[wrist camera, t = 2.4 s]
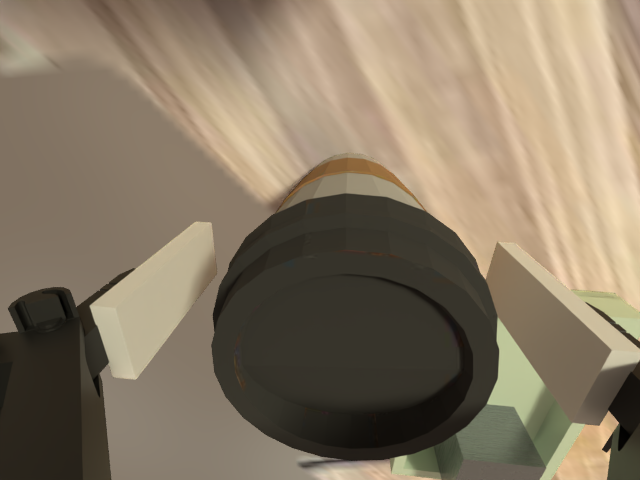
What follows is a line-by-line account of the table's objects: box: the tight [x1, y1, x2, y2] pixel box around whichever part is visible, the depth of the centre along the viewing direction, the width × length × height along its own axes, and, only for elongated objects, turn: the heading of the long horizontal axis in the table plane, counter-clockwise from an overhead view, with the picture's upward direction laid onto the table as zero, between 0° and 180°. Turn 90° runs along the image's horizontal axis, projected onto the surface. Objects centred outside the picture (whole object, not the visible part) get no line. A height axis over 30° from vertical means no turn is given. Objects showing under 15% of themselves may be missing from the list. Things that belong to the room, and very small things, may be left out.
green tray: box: [390, 290, 640, 480], centre depth 26 cm, size 20×14×3 cm
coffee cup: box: [212, 153, 499, 461], centre depth 15 cm, size 8×8×15 cm
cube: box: [434, 404, 546, 480], centre depth 27 cm, size 6×6×5 cm
